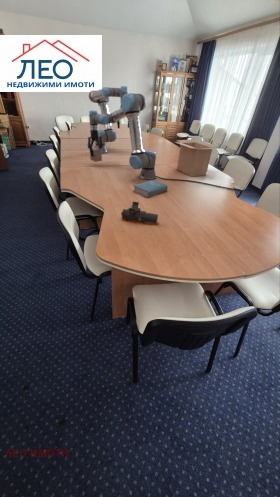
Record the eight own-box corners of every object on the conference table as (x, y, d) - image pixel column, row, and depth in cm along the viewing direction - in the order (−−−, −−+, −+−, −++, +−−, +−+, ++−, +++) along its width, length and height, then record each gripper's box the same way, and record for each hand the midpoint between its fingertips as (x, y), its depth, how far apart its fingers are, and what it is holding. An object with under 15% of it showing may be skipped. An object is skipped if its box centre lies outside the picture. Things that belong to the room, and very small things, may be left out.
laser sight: (155, 227, 133) (157, 212, 127) (119, 221, 136) (119, 206, 130) (157, 219, 141) (159, 205, 135) (123, 214, 144) (124, 200, 138)
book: (152, 185, 190) (153, 179, 187) (167, 191, 181) (167, 185, 178) (133, 191, 176) (133, 185, 173) (147, 198, 167) (148, 191, 164)
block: (97, 158, 227) (96, 147, 221) (101, 160, 222) (101, 149, 216) (90, 159, 223) (89, 148, 216) (94, 161, 218) (94, 150, 211)
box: (218, 176, 220) (226, 147, 203) (190, 180, 205) (196, 149, 189) (191, 164, 250) (196, 138, 234) (165, 167, 235) (168, 139, 219)
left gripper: (131, 104, 236) (130, 126, 249) (111, 104, 222) (112, 127, 235) (135, 105, 232) (134, 127, 244) (116, 104, 218) (116, 129, 231)
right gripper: (101, 128, 214) (102, 153, 228) (82, 129, 203) (84, 155, 216) (106, 129, 210) (106, 155, 223) (86, 131, 198) (88, 157, 212)
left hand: (123, 128), depth 240 cm, fingers open, 13 cm apart
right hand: (95, 155), depth 220 cm, fingers closed on block, 8 cm apart
